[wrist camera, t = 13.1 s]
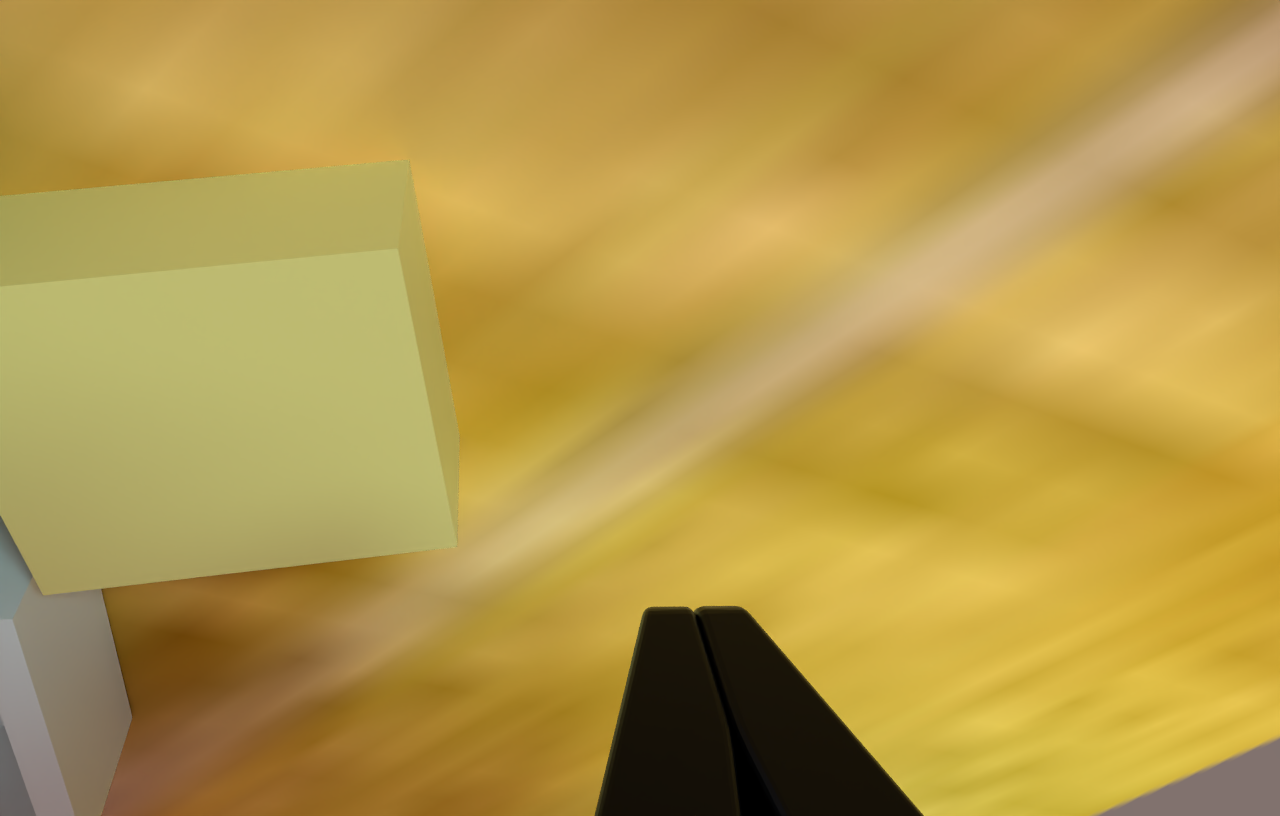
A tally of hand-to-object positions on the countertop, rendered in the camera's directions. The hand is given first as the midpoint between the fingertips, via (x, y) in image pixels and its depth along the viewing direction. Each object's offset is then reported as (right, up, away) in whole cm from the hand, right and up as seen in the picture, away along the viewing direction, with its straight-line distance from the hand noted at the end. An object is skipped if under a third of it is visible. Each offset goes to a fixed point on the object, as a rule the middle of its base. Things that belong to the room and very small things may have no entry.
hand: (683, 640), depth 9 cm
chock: (-7, +3, +8) cm, 11 cm away
